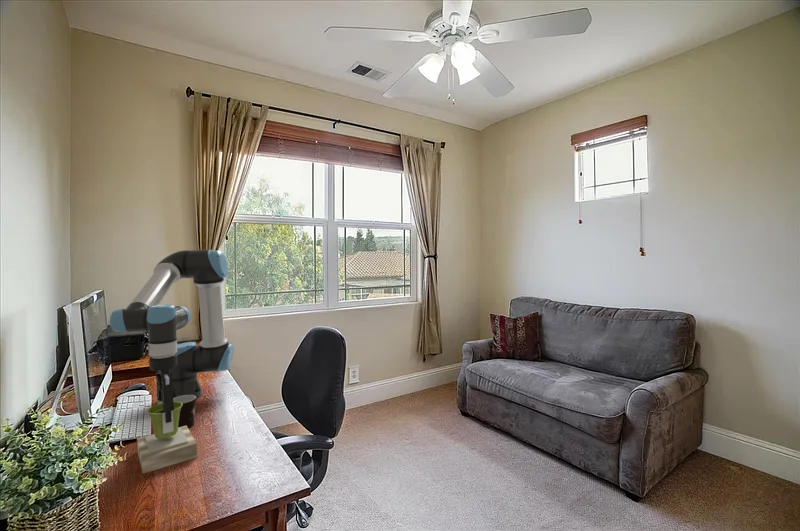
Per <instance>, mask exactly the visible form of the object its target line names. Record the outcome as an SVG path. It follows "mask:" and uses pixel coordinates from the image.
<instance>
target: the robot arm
mask: <svg viewBox="0 0 800 531" xmlns="http://www.w3.org/2000/svg"><path fill="white" fill-rule="evenodd" d="M228 267H229V266H228V262H227V258H226V256H225V254H224V253H223V251H221V250H216V249H215V250H213V249H194V250H193V249H192V250H191V249H190V250H189V249H187V250H179V251H178V250H177V251H176V252H174V253H171V254H170V255H168V256H166V257H164V258H163V259H162V260H160V261H159V262H158V263H157V264H156V266H154V268H153V274H152V275H151V276H150V278H149V279H148V280H147V281H146V283H145V284H144V286H142V287H141V289H140V291H139V292H138V293H137V295H135V297H134V299H133V300H132V301H131V302H130V303H129V304H128V306H127V307H126V308H121V309H115V310H113V311H112V312H111V314H110V317H109V327H110V328H111V330H112V331H113V332H115V333H135V332H136V333H138V332H140V333H141V332H147V336H148V341H147V342H148V346H146V350H147V351H148V355H149V358H148V364H149V365H148V367H149V370H150V371H154V372H156V374H155V379H156V398H157V404H161V403H162V404H163V411H160V413H162V417H163V434H165V433H169V432H172V431H174V424H173V410H174V402H173V398H175V397H178V396H183V395H194V396H196V399H198V398H200V397H201V396H202V395H203V388H202V385H201V383H200V381H199V378H198V373H219V372H224V371H228V370H229V369H230V367H231V365H232V361H233V359H234V344H232V343H229V338H227V336H226V337H225V329H224V316H223V303H222V302H223V301H222V300H223V299H222V290H221V289H222V288H221V287H222V286H221V285H222V284H223V282H224V281H225V278H226V277H227V276H228V273H229V271H228V270H229V268H228ZM181 279H192V280H193V284H194V285H196V286H197V288H198V301H199V302H198V303H199V312H200V324H201V335H202V337H201V338H202V340H201V341H199V344H198V343H196V341H188V342H183V343H178V340H177V338H178V337H177V335H178V334H177V331H178V330H181V329H183V328H185V327H186V326H187V325H188V324H189V323H190V321H191V319H192V315H191V314H192V313H191V311H190V310H189V309H188V308H187V307H185V306H183V305H173V304H160V303H162V300H163V299H164V297H165V296H166V295H167V293H168V292H169V290H170V289H171V287H172V286H173V285H174V284H175V283H177V282H179V280H181ZM197 344H198V345H197ZM167 407H168V408H167Z"/></svg>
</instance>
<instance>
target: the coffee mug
mask: <svg viewBox="0 0 800 531" xmlns="http://www.w3.org/2000/svg"><path fill="white" fill-rule="evenodd" d="M173 402H181V403H182V404H183V405H182V407H181V411H180V414H179V423H178V428H179V427H183V426H186V425H187V427H188V429H191V428H192V427H193V426H194V425H195V424H194V423H195V415H196V414H195V413H196V402H197V398H196V396H194V395H183V396H178V397H175V398H173Z"/></svg>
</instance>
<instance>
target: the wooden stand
mask: <svg viewBox="0 0 800 531" xmlns="http://www.w3.org/2000/svg"><path fill="white" fill-rule="evenodd" d="M189 429H190V428H188V427H187V425H186V426H183V427H179V428H178V432H177V433H176V434H175V435H173V436H171V437H168V438H160V439H158V438H156V437H155V434H154V433H153V434H152V433H151V434H148V435H145V436H140V437H137V438H136V445H137V446H136V447H137V456H138V460H139V464H140V467H141V468H140V469H141V473H142V474H147V473H151V472H154V471H157V470H161V469H163V468H167V467H170V466H174V465H176V464H180V463H183V462H186V461H187V462H188V461H190V460H192V459H196V458H198V450H197V449H198V446H197V445H198V444H197V442H196V440H195V438H194V436H193V435H192V433H191V430H189Z"/></svg>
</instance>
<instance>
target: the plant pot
mask: <svg viewBox="0 0 800 531" xmlns="http://www.w3.org/2000/svg"><path fill="white" fill-rule="evenodd" d="M182 405H183V404H182V403H181V402H174V410H173V424H174V431H172V432H169V433H165V434H163V417H162V413H160V411H163V404H162V403H161V404H158V403H157V404H156V405H153V406H151V407H149V408H148V409H147V411H146V412H147V414H148V415H149V418H150V419H151V424H152V428H153V434H155V437H156V438H158V439H160V438H168V437H171V436H173V435H175V434H176V433H177V432H178V423H179V414H180V411H181V407H182ZM167 408H168V407H167Z"/></svg>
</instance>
